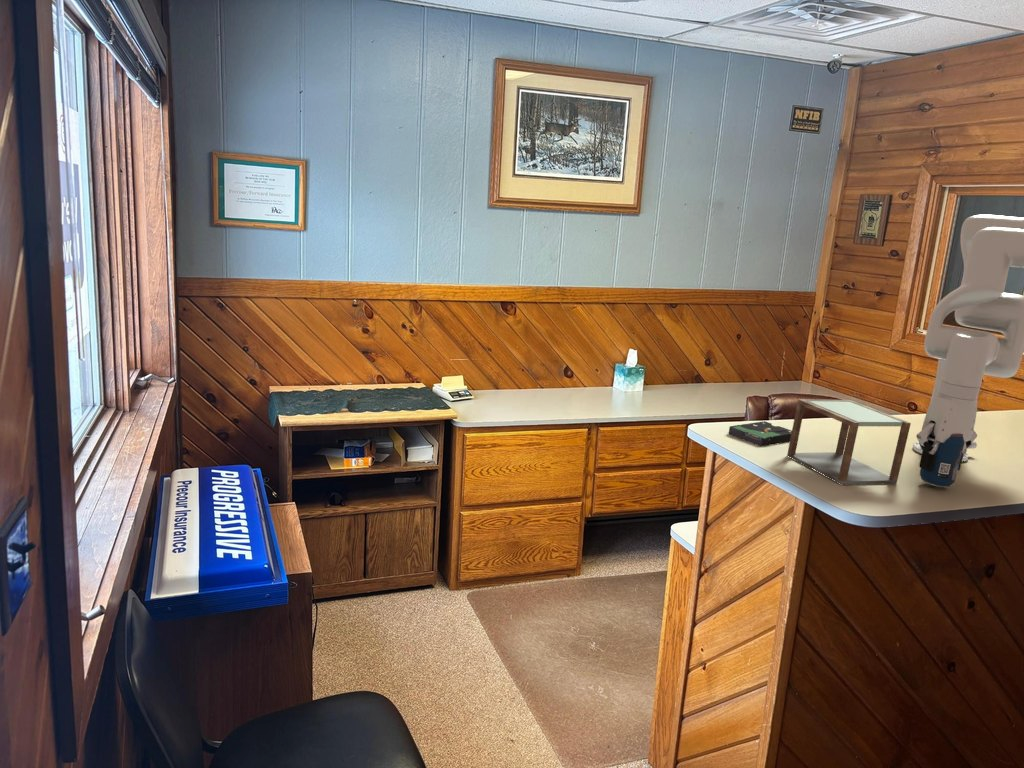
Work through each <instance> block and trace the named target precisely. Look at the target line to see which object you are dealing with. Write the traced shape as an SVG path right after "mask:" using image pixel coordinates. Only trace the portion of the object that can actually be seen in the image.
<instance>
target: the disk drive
mask: <svg viewBox="0 0 1024 768" xmlns="http://www.w3.org/2000/svg"><path fill="white" fill-rule="evenodd" d="M728 428H729V430H728V435H729V436H732V437H733V438H737V439H740V440H742V441H745V442H748V443H750V444H753V445H755V446H759V447H766V446H767V447H769V446H771V445H772V444H773V445H777V443H779V444H784V443H790V442H789V441H790V438H791V433H792V429H788V428H786V427H782V426H780V425H776V426H775V425H772V423H771V422H767V421H757V422H751V423H750V422H749V423H742V424H735V425H731V426H729V427H728ZM773 445H772V446H773Z"/></svg>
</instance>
